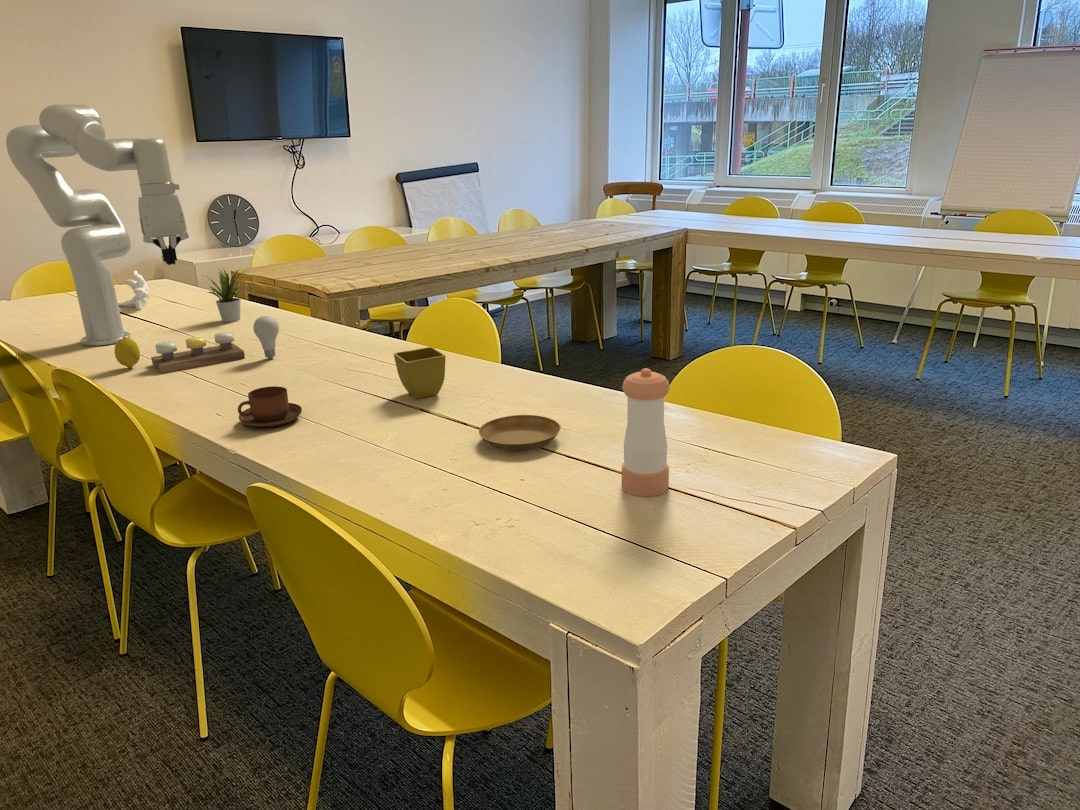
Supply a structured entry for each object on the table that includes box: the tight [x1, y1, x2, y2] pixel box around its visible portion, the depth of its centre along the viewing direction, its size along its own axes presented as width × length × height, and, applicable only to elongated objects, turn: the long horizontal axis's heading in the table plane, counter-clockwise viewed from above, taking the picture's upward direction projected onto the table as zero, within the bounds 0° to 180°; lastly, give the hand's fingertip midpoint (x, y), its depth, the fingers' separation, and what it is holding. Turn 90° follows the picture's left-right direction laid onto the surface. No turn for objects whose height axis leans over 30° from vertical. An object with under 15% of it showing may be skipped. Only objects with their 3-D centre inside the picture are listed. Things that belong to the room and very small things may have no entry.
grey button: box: [213, 331, 235, 351], centre depth 211 cm, size 5×5×4 cm
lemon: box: [114, 337, 141, 369], centre depth 203 cm, size 6×6×8 cm
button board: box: [150, 342, 246, 374], centre depth 208 cm, size 10×20×2 cm, turn 125°
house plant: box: [201, 266, 250, 323], centre depth 249 cm, size 14×14×16 cm
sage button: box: [155, 341, 178, 361], centre depth 203 cm, size 5×5×4 cm
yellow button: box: [184, 336, 207, 356], centre depth 207 cm, size 5×5×4 cm
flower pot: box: [393, 346, 447, 399], centre depth 175 cm, size 9×9×9 cm
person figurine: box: [118, 270, 151, 311], centre depth 277 cm, size 13×13×18 cm
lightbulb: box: [252, 315, 280, 360], centre depth 206 cm, size 6×6×11 cm
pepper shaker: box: [621, 367, 671, 498], centre depth 125 cm, size 7×7×19 cm
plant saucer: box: [478, 414, 562, 453], centre depth 148 cm, size 15×15×3 cm
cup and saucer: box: [237, 385, 303, 428], centre depth 163 cm, size 12×12×6 cm
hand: (170, 263), depth 211 cm, fingers closed
